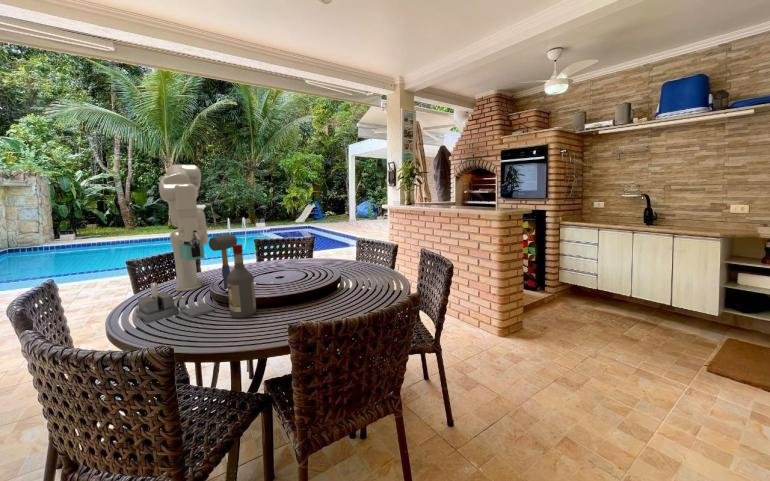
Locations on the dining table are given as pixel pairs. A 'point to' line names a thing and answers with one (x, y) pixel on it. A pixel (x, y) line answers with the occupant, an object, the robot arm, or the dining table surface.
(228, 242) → the rubber mallet
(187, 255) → the collar
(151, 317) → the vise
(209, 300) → the dining table surface
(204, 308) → the mat
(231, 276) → the liquor
